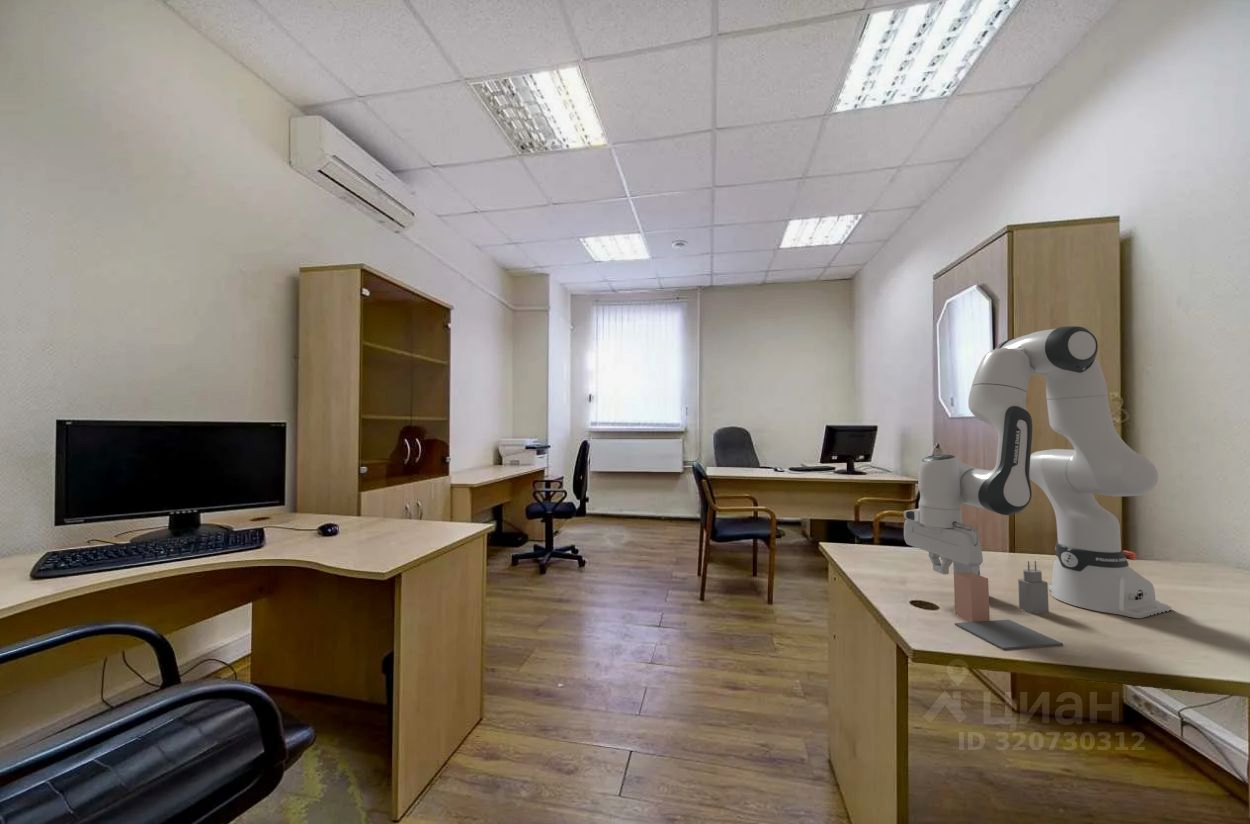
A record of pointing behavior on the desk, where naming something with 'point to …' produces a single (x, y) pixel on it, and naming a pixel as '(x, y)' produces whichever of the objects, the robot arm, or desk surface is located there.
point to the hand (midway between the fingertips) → (940, 572)
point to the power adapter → (1033, 591)
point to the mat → (1007, 634)
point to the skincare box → (965, 568)
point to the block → (971, 596)
